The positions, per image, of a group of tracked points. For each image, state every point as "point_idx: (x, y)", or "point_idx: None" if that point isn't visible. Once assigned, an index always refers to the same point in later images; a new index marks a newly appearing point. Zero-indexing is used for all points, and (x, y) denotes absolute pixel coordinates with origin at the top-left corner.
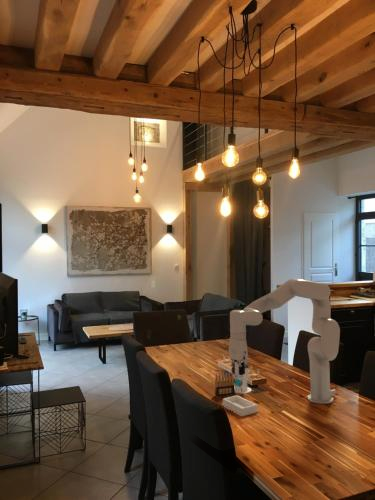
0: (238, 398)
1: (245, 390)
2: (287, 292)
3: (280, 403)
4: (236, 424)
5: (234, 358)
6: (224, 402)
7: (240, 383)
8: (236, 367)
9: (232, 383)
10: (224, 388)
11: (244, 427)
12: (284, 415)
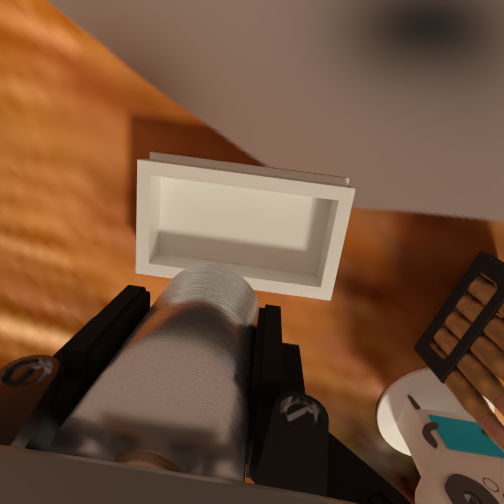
0: (304, 281)
1: (400, 415)
2: None
3: None
4: (82, 44)
5: (37, 482)
6: (332, 184)
7: (438, 431)
8: (155, 333)
9: (456, 383)
10: (475, 321)
11: (25, 52)
12: (50, 318)
